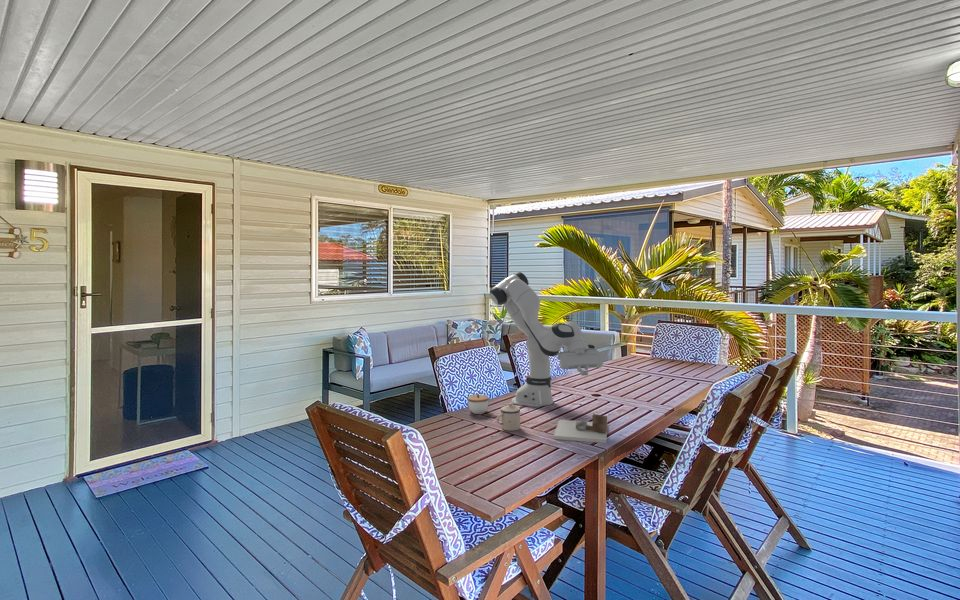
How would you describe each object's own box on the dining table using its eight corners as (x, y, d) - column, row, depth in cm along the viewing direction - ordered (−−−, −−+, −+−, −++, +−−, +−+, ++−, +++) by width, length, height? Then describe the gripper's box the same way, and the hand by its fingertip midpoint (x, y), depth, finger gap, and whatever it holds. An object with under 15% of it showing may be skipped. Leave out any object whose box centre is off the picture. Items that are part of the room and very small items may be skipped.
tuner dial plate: (553, 439, 217) (553, 435, 217) (559, 422, 238) (559, 419, 238) (606, 443, 211) (606, 439, 211) (607, 426, 232) (607, 422, 232)
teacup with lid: (513, 423, 239) (513, 399, 238) (524, 428, 231) (524, 403, 230) (491, 428, 233) (491, 403, 232) (502, 433, 225) (502, 408, 224)
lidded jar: (480, 407, 265) (480, 390, 264) (493, 412, 256) (492, 394, 255) (463, 411, 258) (463, 393, 257) (476, 416, 250) (475, 398, 249)
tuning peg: (573, 428, 224) (573, 413, 223) (578, 425, 228) (578, 410, 228) (604, 434, 216) (604, 418, 216) (608, 430, 220) (608, 415, 220)
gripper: (557, 348, 237) (563, 372, 228) (599, 345, 239) (607, 369, 230) (555, 356, 242) (561, 380, 232) (596, 353, 244) (604, 377, 234)
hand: (585, 374), depth 231 cm, fingers closed
